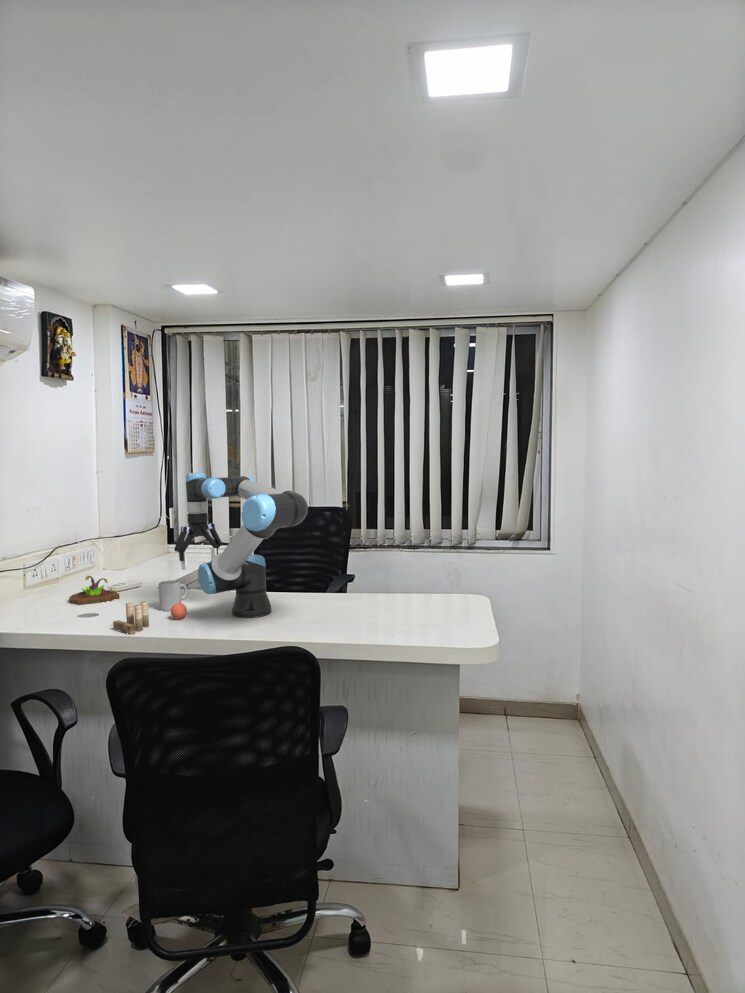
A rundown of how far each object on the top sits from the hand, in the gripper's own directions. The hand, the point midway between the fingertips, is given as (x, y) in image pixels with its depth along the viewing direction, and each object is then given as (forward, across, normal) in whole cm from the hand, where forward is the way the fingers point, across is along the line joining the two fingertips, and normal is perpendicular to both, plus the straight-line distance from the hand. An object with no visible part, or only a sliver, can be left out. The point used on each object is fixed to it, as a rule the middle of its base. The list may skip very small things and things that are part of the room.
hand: (199, 566), depth 255 cm
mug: (+19, +1, -18) cm, 26 cm away
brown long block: (+18, +32, 0) cm, 37 cm away
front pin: (+18, +24, 0) cm, 30 cm away
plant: (+19, +13, -64) cm, 68 cm away
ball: (+15, +10, 0) cm, 18 cm away
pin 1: (+18, +28, -3) cm, 34 cm away
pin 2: (+18, +28, +3) cm, 34 cm away
